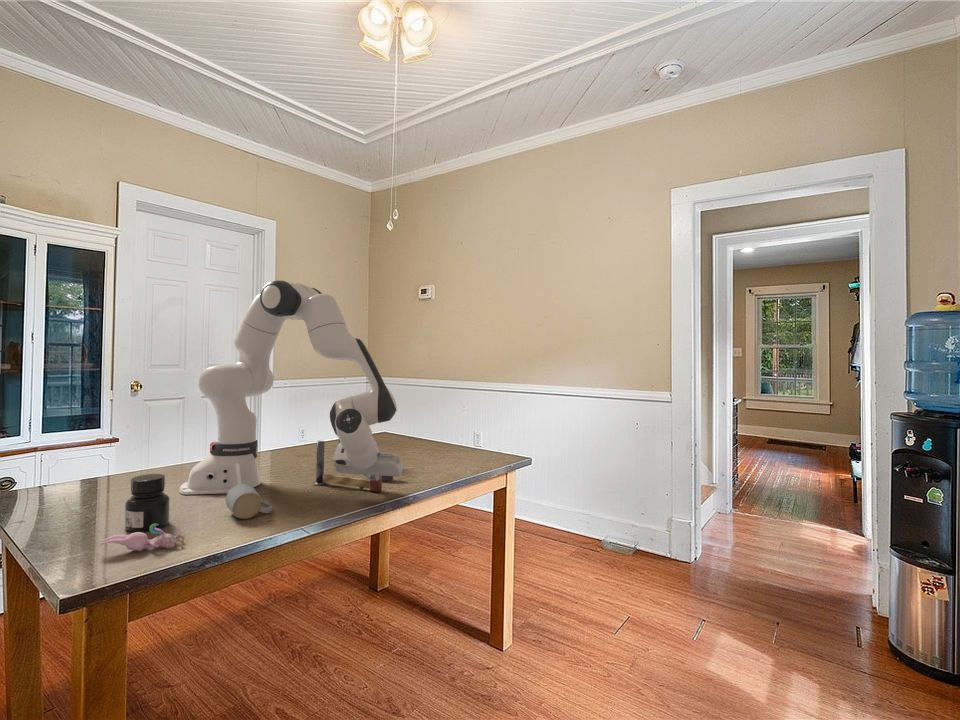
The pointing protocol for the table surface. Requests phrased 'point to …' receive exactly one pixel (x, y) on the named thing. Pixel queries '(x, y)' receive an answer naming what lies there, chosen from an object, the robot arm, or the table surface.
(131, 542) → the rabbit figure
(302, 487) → the table surface
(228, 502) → the ceramic mug
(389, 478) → the catch block
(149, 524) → the ink bottle
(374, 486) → the gate
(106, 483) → the table surface
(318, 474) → the hinge post
